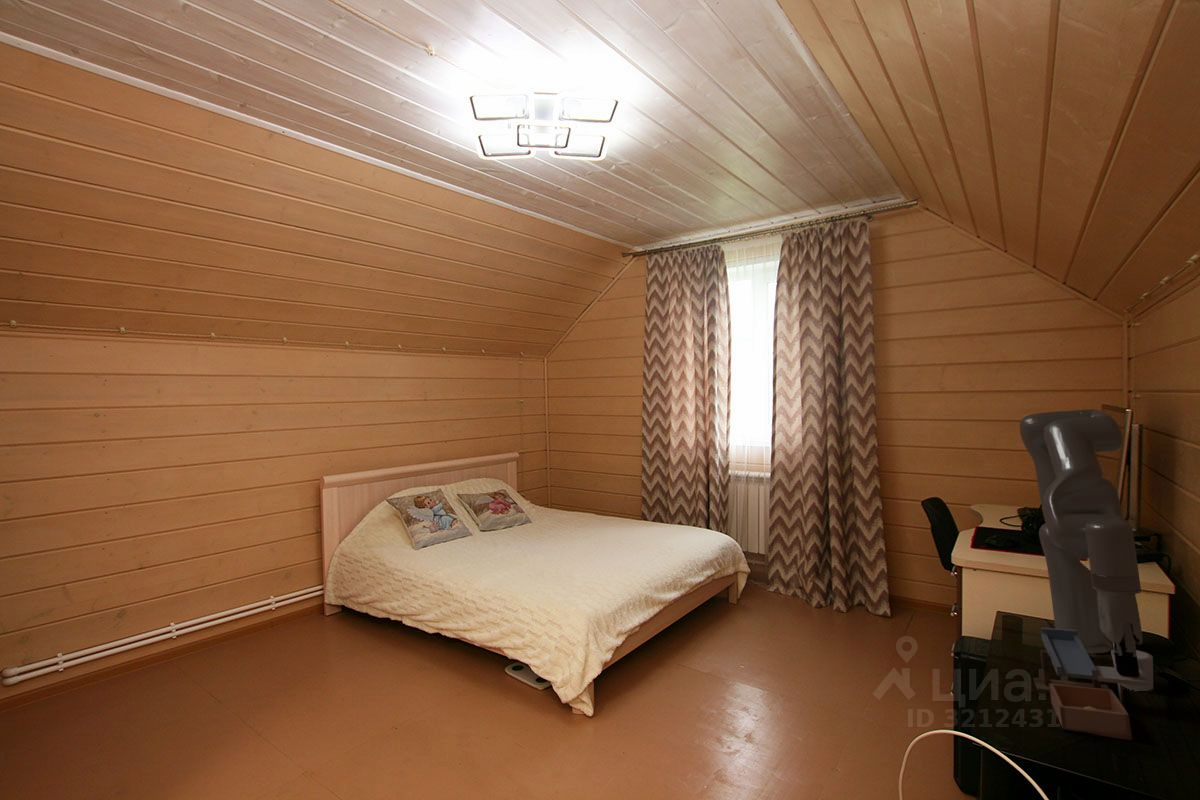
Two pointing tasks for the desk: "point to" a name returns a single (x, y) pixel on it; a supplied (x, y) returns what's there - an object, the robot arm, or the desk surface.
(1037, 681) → the stand
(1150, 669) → the light grey cylinder
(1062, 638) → the grey piece
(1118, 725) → the pink open box
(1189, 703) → the desk surface
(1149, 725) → the desk surface
